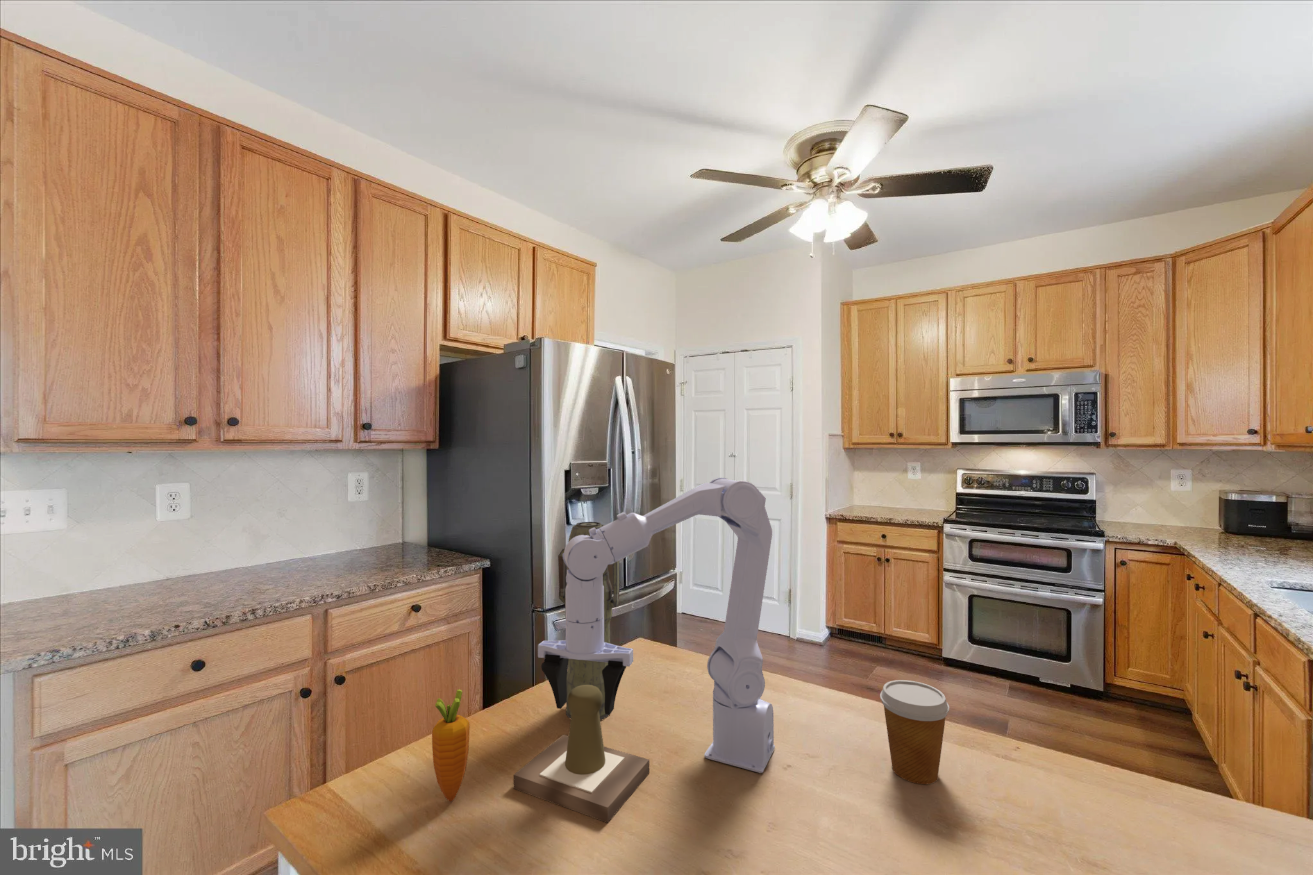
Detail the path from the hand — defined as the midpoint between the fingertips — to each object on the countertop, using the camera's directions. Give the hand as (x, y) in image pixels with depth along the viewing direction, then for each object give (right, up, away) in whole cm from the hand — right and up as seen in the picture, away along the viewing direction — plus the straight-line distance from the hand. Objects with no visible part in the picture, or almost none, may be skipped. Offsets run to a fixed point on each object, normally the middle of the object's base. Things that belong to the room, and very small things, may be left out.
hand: (585, 708), depth 80 cm
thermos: (-2, -11, +20) cm, 23 cm away
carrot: (-18, -11, -5) cm, 22 cm away
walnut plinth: (0, -10, -1) cm, 10 cm away
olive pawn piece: (0, -8, 0) cm, 8 cm away
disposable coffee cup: (+50, -10, +1) cm, 51 cm away
